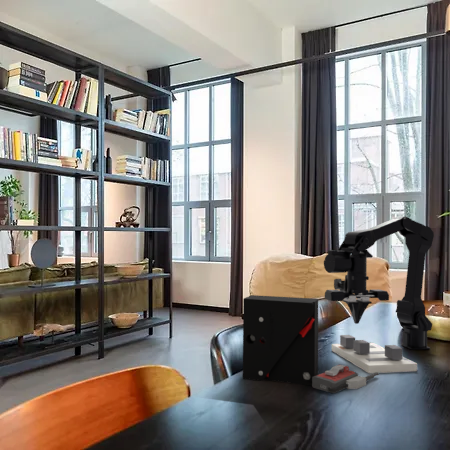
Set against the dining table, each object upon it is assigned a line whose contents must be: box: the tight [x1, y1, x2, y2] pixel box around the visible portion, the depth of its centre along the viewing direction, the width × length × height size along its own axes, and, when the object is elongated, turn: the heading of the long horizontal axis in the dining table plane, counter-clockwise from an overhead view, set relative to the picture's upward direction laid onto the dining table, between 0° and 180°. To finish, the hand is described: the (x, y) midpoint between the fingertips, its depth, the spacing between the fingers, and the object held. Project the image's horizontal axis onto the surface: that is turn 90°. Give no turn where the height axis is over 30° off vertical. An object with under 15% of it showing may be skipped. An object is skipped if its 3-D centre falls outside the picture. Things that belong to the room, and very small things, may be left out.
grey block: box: [353, 339, 371, 354], centre depth 133 cm, size 3×4×3 cm
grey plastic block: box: [339, 334, 356, 348], centre depth 139 cm, size 3×4×3 cm
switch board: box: [331, 342, 418, 374], centre depth 133 cm, size 14×24×2 cm, turn 10°
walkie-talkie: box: [311, 364, 380, 394], centre depth 112 cm, size 9×4×20 cm
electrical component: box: [242, 294, 319, 386], centre depth 116 cm, size 18×10×20 cm, turn 71°
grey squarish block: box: [384, 344, 403, 360], centre depth 127 cm, size 3×4×3 cm
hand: (356, 323), depth 140 cm, fingers closed
